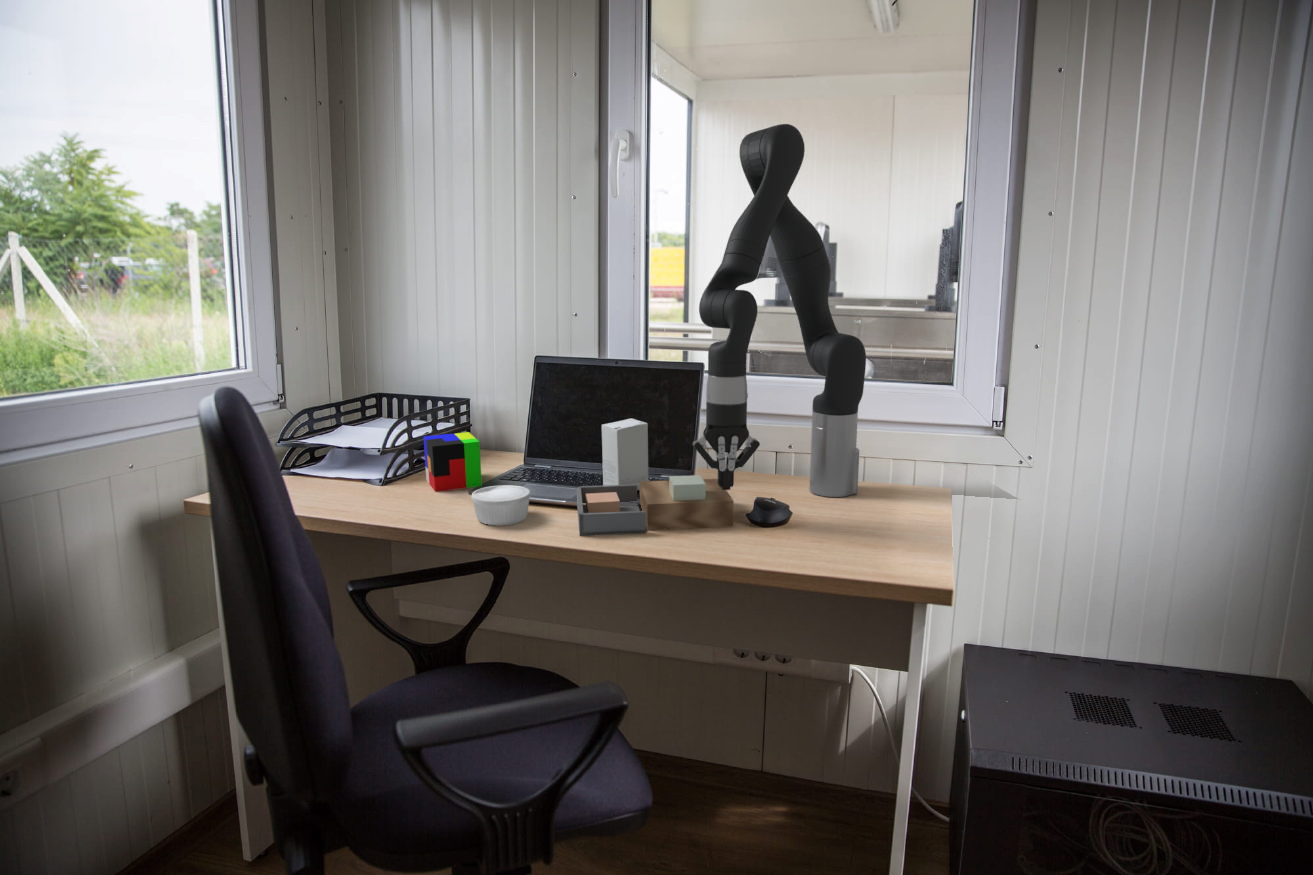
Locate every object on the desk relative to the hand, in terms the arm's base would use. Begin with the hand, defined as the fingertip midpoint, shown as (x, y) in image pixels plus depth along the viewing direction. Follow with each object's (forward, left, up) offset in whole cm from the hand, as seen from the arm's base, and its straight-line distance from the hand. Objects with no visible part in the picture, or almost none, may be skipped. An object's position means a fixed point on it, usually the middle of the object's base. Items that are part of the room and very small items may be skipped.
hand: (725, 488), depth 165 cm
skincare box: (+17, -21, -6) cm, 28 cm away
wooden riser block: (+7, -3, -6) cm, 10 cm away
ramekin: (+42, -6, -6) cm, 43 cm away
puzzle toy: (+54, -32, -6) cm, 63 cm away
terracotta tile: (+23, -5, -2) cm, 24 cm away
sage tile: (+7, 0, -1) cm, 7 cm away
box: (+22, -3, -6) cm, 23 cm away
